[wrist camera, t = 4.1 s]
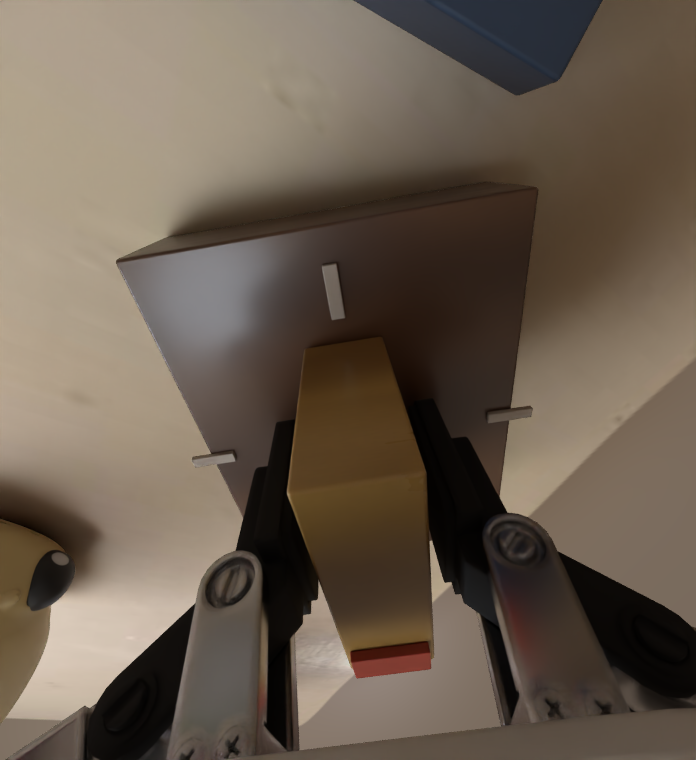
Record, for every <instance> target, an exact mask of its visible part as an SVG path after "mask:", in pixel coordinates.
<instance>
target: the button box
mask: <svg viewBox="0 0 696 760" xmlns="http://www.w3.org/2000/svg"><path fill="white" fill-rule="evenodd" d="M354 1H356V2H357V3H359V4H361V5H362V6H364V7H366V8H368V9H369V10H371V11H373V12H374V13H376V14H378V15H380V16H381V17H383V18H385V19H386V20H388V21H390V22H391V23H393V24H395V25H397V26H398V27H400V28H402V29H403V30H405V31H407V32H409V33H410V34H412V35H414V36H415V37H417V38H419V39H420V40H422V41H424V42H426V43H427V44H429V45H431V46H432V47H434V48H436V49H438V50H439V51H441V52H443V53H444V54H446V55H448V56H450V57H451V58H453V59H455V60H456V61H458V62H460V63H461V64H463V65H465V66H467V67H468V68H470V69H472V70H473V71H475V72H477V73H479V74H480V75H482V76H484V77H485V78H487V79H489V80H491V81H492V82H494V83H496V84H497V85H499V86H501V87H502V88H504V89H506V90H508V91H509V92H511V93H513V94H514V95H521V94H524V93H527V92H530V91H532V90H535V89H538V88H540V87H543V86H546V85H549V84H551V83H554V82H557V81H558V80H559V79H560V78H561V76H562V74H563V72H564V71H565V69H566V67H567V65H568V63H569V61H570V60H571V58H572V56H573V54H574V52H575V50H576V48H577V47H578V45H579V43H580V41H581V39H582V37H583V35H584V34H585V32H586V30H587V28H588V26H589V24H590V22H591V21H592V19H593V17H594V15H595V13H596V11H597V10H598V8H599V6H600V4H601V2H602V0H354Z"/></svg>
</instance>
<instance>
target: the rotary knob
mask: <svg viewBox="0 0 696 760" xmlns="http://www.w3.org/2000/svg"><path fill="white" fill-rule="evenodd" d="M287 495H288V498H289V501H290V503H291V506H292V509H293V512H294V514H295V517H296V520H297V522H298V525H299V528H300V531H301V533H302V536H303V539H304V541H305V544H306V547H307V549H308V552H309V555H310V558H311V560H312V563H313V566H314V568H315V571H316V574H317V577H318V579H319V582H320V585H321V587H322V590H323V593H324V595H325V598H326V601H327V604H328V606H329V609H330V612H331V614H332V617H333V620H334V623H335V625H336V628H337V631H338V633H339V636H340V639H341V641H342V644H343V647H344V650H345V652H346V655H347V658H348V660H349V663H350V666H351V668H352V669H353V670H354V673H355V675H356V678H365V677H373V676H380V675H388V674H396V673H404V672H412V671H420V670H428V669H431V659H433V658H434V640H433V616H432V592H431V568H430V544H429V520H428V497H427V473H426V470H425V467H424V464H423V461H422V457H421V454H420V451H419V448H418V445H417V442H416V439H415V436H414V433H413V430H412V427H411V424H410V421H409V418H408V414H407V411H406V408H405V405H404V402H403V399H402V396H401V393H400V390H399V387H398V384H397V381H396V378H395V375H394V372H393V368H392V365H391V362H390V359H389V356H388V353H387V350H386V347H385V344H384V341H383V338H382V337H375V338H369V339H362V340H356V341H350V342H344V343H338V344H331V345H325V346H319V347H313V348H307V349H305V350H304V355H303V364H302V372H301V380H300V388H299V396H298V405H297V413H296V421H295V429H294V438H293V446H292V454H291V462H290V470H289V479H288V487H287Z"/></svg>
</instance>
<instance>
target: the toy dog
mask: <svg viewBox="0 0 696 760" xmlns="http://www.w3.org/2000/svg"><path fill="white" fill-rule="evenodd" d="M74 574H75V564H74V561H73V559H72V558H71V557H70V556H69V555H68V554H66V552H65V551H64V549H63V548H62V547H61V546H60V545H59V544H57V543H56V542H55V541H53V540H51V539H50V538H48V537H46V536H44V535H42V534H40V533H38V532H35V531H33V530H31V529H28V528H26V527H23V526H20V525H18V524H15V523H12V522H9V521H5V520H2V519H0V724H1V723H2V722H3V720H4V719H5V718H6V716H7V715H8V713H9V712H10V710H11V709H12V707H13V706H14V705H15V703H16V701H17V700H18V698H19V697H20V695H21V694H22V692H23V690H24V689H25V687H26V685H27V684H28V682H29V680H30V679H31V677H32V675H33V673H34V671H35V669H36V667H37V665H38V663H39V661H40V659H41V657H42V654H43V652H44V649H45V646H46V643H47V639H48V635H49V628H50V612H51V605H52V604H53V603H54V602H56V601H57V600H58V599H59V598H60V597H61V596H62V595H63V594H64V593H65V592H66V591H67V589H68V588H69V586H70V584H71V583H72V580H73V578H74Z"/></svg>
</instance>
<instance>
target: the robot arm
mask: <svg viewBox="0 0 696 760" xmlns="http://www.w3.org/2000/svg"><path fill="white" fill-rule="evenodd" d="M408 409H409V421H410V424H411V427H412V430H413V433H414V436H415V439H416V442H417V445H418V448H419V451H420V454H421V457H422V461H423V464H424V467H425V470H426V473H427V497H428V520H429V531H430V534H431V538H432V541H433V545H434V548H435V552H436V555H437V559H438V562H439V566H440V570H441V573H442V577H443V580H444V582H445V583H446V582H452V585H453V589H454V592H455V594H461V595H462V598H463V601H464V603H465V604H467V605H468V606H469V607H471V608H472V609H474V610H475V611H476V613H477V617H478V622H479V627H480V631H481V636H482V640H483V645H484V650H485V654H486V659H487V663H488V668H489V672H490V677H491V682H492V686H493V691H494V696H495V700H496V705H497V709H498V714H499V719H500V723H501V727H492V728H484V729H475V730H466V731H457V732H449V733H442V734H432V735H424V736H416V737H407V738H399V739H391V740H382V741H374V742H365V743H357V744H349V745H340V746H332V747H324V748H316V749H307V750H299V727H298V702H297V678H296V653H295V632H296V631H297V630H298V629H299V628H300V626H301V625H302V624H303V615H306V614H311V601H313V600H317V599H318V577H317V574H316V571H315V568H314V566H313V563H312V560H311V558H310V555H309V552H308V549H307V547H306V544H305V541H304V539H303V536H302V533H301V531H300V528H299V525H298V522H297V520H296V517H295V514H294V512H293V509H292V506H291V503H290V501H289V498H288V495H287V487H288V479H289V470H290V462H291V454H292V446H293V438H294V429H295V420H294V419H293V420H286V421H280V422H277V423H276V425H275V431H274V436H273V441H272V446H271V451H270V456H269V461H268V466H264V467H257V468H256V470H255V472H254V475H253V479H252V484H251V488H250V492H249V496H248V501H247V505H246V509H245V513H244V518H243V522H242V526H241V530H240V535H239V539H238V543H237V547H236V551H233V552H231V553H228V554H226V555H224V556H222V557H221V558H219V559H218V560H216V561H215V562H214V563H213V564H212V565H211V566H210V567H209V568H208V569H207V571H206V573H205V574H204V576H203V578H202V579H201V582H200V585H199V588H198V593H197V598H196V603H195V604H194V605H193V606H192V607H191V608H190V609H189V610H188V611H187V612H186V613H184V614H183V615H182V616H181V617H180V618H179V619H178V620H177V621H176V622H175V623H174V624H173V625H172V626H171V627H169V628H168V629H167V630H166V631H165V632H164V633H163V634H162V635H161V636H160V637H159V638H158V639H157V640H156V641H155V642H153V643H152V644H151V645H150V646H149V647H148V648H147V649H146V650H145V651H144V652H143V653H142V654H141V655H140V656H138V657H137V658H136V659H135V660H134V661H133V662H132V663H131V664H130V665H129V666H128V667H127V668H126V669H125V670H123V671H122V672H121V673H120V674H119V675H118V676H117V677H116V678H115V679H114V680H113V682H112V683H111V684H110V685H109V686H108V687H107V688H106V689H105V691H104V693H103V694H102V696H101V697H100V699H99V700H98V702H97V704H95V705H94V706H92V707H91V708H88V707H86V706H84V707H82V708H81V709H79V710H78V711H76V712H75V713H73V714H72V715H70V716H69V717H67V718H66V719H65V720H63V721H62V722H60V723H59V724H57V725H56V726H54V727H53V728H51V729H50V730H48V731H47V732H45V733H44V734H42V735H41V736H39V737H38V738H36V739H35V740H34V741H32V742H31V743H29V744H28V745H26V746H25V747H23V748H22V749H20V750H19V751H17V752H16V753H14V754H13V755H12V756H10V757H8V758H7V759H6V760H696V628H694V627H691V626H690V625H689V624H688V623H687V622H686V621H684V620H683V619H682V618H681V617H680V616H679V615H677V614H676V613H674V612H672V611H671V610H669V609H668V608H666V607H665V606H663V605H661V604H659V603H657V602H655V601H653V600H651V599H649V598H647V597H645V596H643V595H641V594H639V593H637V592H636V591H634V590H632V589H630V588H628V587H626V586H624V585H622V584H620V583H618V582H616V581H614V580H612V579H610V578H608V577H607V576H604V575H603V574H601V573H599V572H597V571H595V570H593V569H591V568H589V567H587V566H585V565H583V564H581V563H579V562H577V561H575V560H574V559H572V558H570V557H568V556H566V555H564V554H562V553H560V552H558V551H557V549H556V547H555V545H554V543H553V541H552V539H551V537H550V536H549V534H548V533H547V531H546V530H545V529H543V527H541V526H540V525H539V524H538V523H537V522H535V521H533V520H532V519H530V518H528V517H526V516H523V515H520V514H515V513H507V511H506V509H505V507H504V505H503V503H502V501H501V500H500V498H499V496H498V494H497V492H496V490H495V488H494V486H493V484H492V482H491V480H490V478H489V477H488V475H487V473H486V471H485V469H484V467H483V465H482V463H481V461H480V459H479V457H478V455H477V453H476V452H475V450H474V448H473V446H472V444H471V442H470V440H469V439H468V438H467V437H466V436H465V437H458V438H451V436H450V434H449V432H448V429H447V427H446V425H445V423H444V421H443V419H442V416H441V414H440V412H439V410H438V408H437V405H436V403H435V401H434V399H433V398H429V399H423V400H416V401H414V406H409V408H408Z"/></svg>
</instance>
